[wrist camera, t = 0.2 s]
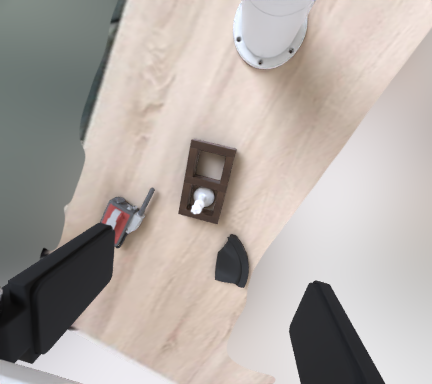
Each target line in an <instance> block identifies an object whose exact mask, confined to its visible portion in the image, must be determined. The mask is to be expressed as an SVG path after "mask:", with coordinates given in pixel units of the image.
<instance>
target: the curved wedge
mask: <svg viewBox="0 0 432 384" xmlns="http://www.w3.org/2000/svg"><path fill="white" fill-rule="evenodd" d="M227 238H228V241H227V243H226V244H225V245H224V247H223V248H222V249H221V250H220V251H219V252H218V256H217V262H216V270H215V280H218V281H221V282H226V283H234V284H236V285H237V286H238V287H241V288H244V287H245V285H246V282H247V279H248V273H249V266H248V265H249V264H248V257H247V254H246V251H245V249H244V246H243V244H242V243H241V241H240V240H239V239H238V237H237V236H236V235H233V234H231V235H230V237H227Z"/></svg>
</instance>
